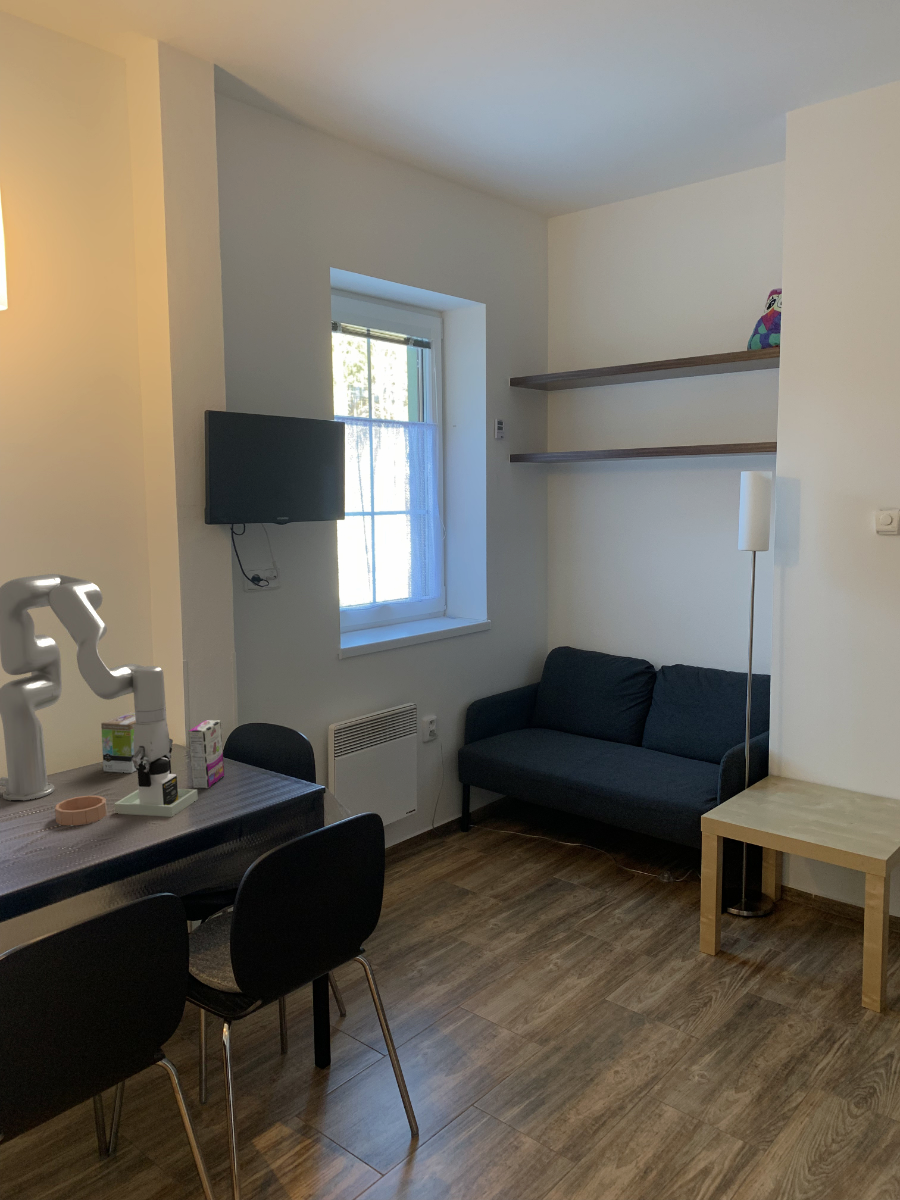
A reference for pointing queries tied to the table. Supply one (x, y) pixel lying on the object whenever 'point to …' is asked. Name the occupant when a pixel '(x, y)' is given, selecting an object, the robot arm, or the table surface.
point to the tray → (133, 807)
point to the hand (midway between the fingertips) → (155, 780)
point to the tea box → (119, 743)
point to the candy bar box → (206, 753)
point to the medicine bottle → (159, 785)
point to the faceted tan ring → (81, 810)
